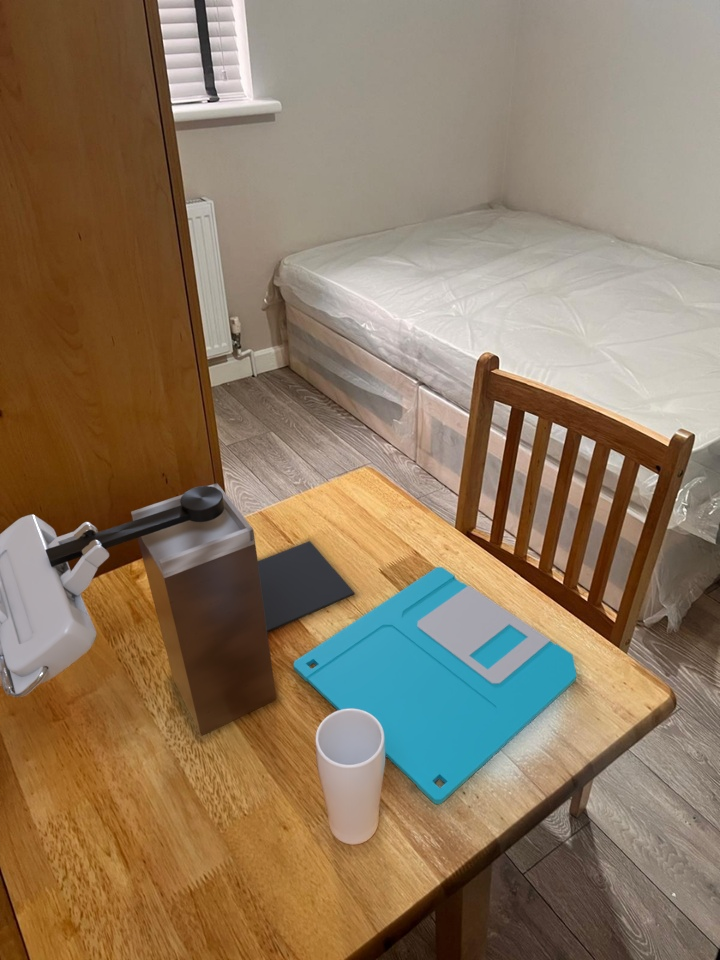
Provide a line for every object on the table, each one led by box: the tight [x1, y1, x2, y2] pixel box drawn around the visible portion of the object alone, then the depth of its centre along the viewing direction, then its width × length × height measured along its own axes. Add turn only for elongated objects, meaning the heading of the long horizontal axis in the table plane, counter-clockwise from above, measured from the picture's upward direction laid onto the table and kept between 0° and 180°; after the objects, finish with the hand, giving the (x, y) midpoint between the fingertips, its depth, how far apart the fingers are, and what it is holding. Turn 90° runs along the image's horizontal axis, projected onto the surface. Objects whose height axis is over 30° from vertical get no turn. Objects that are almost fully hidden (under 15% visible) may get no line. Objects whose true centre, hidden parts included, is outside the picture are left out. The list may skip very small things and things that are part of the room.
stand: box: [130, 482, 277, 737], centre depth 85 cm, size 10×10×28 cm
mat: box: [258, 540, 355, 633], centre depth 107 cm, size 24×14×1 cm, turn 121°
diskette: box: [293, 566, 578, 805], centre depth 95 cm, size 26×28×1 cm
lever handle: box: [46, 485, 224, 567], centre depth 74 cm, size 18×4×2 cm, turn 121°
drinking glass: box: [314, 709, 386, 846], centre depth 74 cm, size 7×7×15 cm
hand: (98, 537), depth 72 cm, fingers closed on lever handle, 2 cm apart
